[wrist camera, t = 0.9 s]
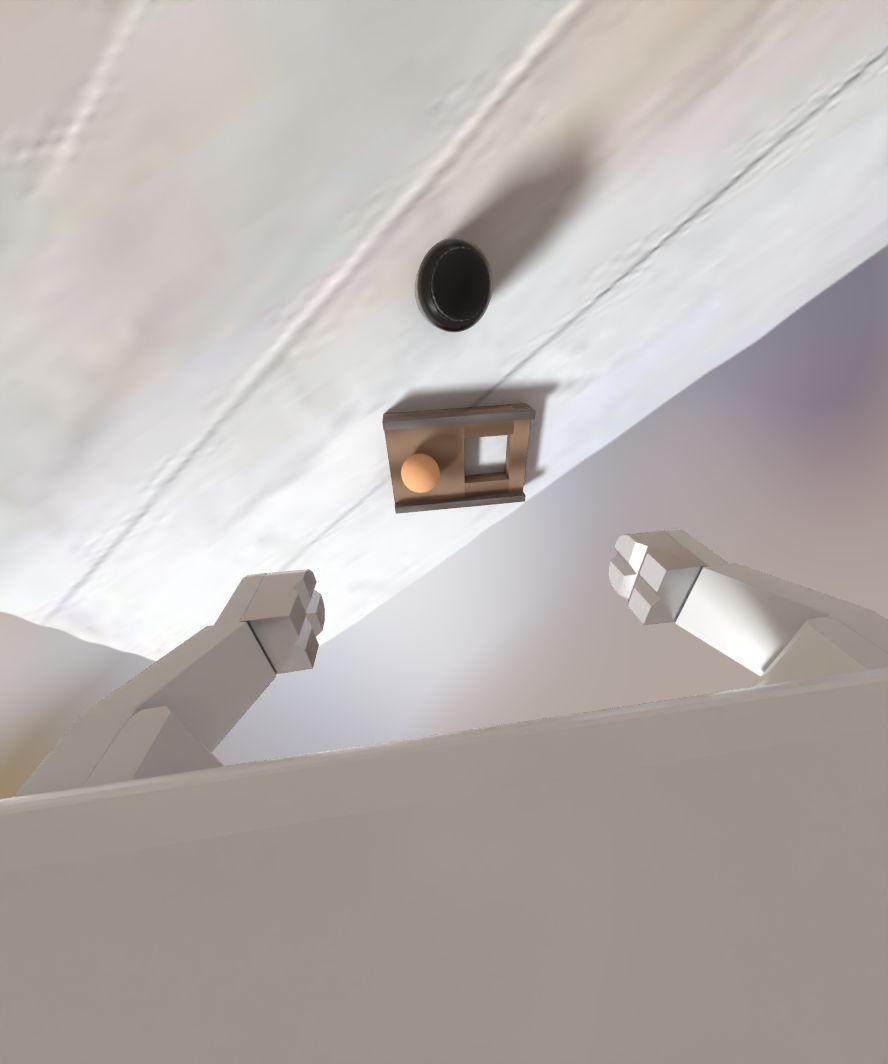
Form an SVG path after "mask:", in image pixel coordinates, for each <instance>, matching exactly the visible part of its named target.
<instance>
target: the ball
mask: <svg viewBox="0 0 888 1064" xmlns="http://www.w3.org/2000/svg"><path fill="white" fill-rule="evenodd" d="M401 476H402V480H403V482H404V484H405V485H406V486H407V487H408V488H409V489H410V490H412V491H414V492H418V493H424V492H427V491H430V490H431V489H433V488H434V487H435V486H436V484H437V483H438V480H439V476H440V471H439V467H438V464H437V463H436V461H435V460H434V459H433V458H432V457H430V456H429V455H426V454H414V455H412V456H410V457H409V458H407V459H406V461H405V462H404V464H403V466H402V469H401Z"/></svg>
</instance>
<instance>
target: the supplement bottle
mask: <svg viewBox="0 0 888 1064" xmlns="http://www.w3.org/2000/svg"><path fill="white" fill-rule="evenodd" d="M491 294H492V275H491V270H490V266H489V264H488V261H487V259H486V257H485V256H484V254H483V253H482V251H481V250H480V249H479V248H478V247H477V246H476V245H475V244H473V243H472V242H470V241H468V240H466V239H463V238H448V239H445V240H442V241H440V242H439V243H437V244H436V245H434V246H433V247H432V248H431V249H430V250H429V251H428V253H427V254H426V255H425V257H424V259H423V261H422V263H421V265H420V268H419V270H418V273H417V276H416V281H415V297H416V302H417V305H418V308H419V310H420V312H421V313H422V315H423V316H424V317H425V319H426V320H427V321H428V322H430V323H431V324H432V325H434V326H436V327H437V328H439V329H441V330H444V331H447V332H461V331H464V330H467V329H469V328H471V327H472V326H473V325H475V324H476V323H477V322H478V321H479V320H480V319H481V318H482V316H483V315H484V313H485V311H486V310H487V307H488V305H489V302H490V298H491Z"/></svg>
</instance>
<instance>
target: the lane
mask: <svg viewBox="0 0 888 1064" xmlns="http://www.w3.org/2000/svg"><path fill="white" fill-rule="evenodd" d="M531 419H535V410H534V409H532V408H531V407H530V406H529V405H527V404H512V405H498V406H484V407H470V408H457V409H443V410H429V411H415V412H401V413H387V414H383V429H384V431H385V437H386V444H387V451H388V458H389V465H390V472H391V479H392V486H393V493H394V499H395V511H396V514H397V513H407V512H418V511H428V510H439V509H449V508H460V507H470V506H481V505H492V504H502V503H513V502H523V501H525V494H524V493H523V486H524V477H525V468H526V459H527V450H528V441H529V432H530V423H531ZM499 435H508V437H507V450H506V464H505V472H502V473H490V474H479V475H467V476H464V438H474V437H486V436H499ZM414 454H426V455H429V456H430V457H432V458H433V459H434V460H435V461H436V463H437V464H438V467H439V471H440V476H439V480H438V483H437V484H436V486H435V487H434V488H433V489H431V490H430V491H427V492H424V493H418V492H414V491H412V490H410V489H409V488H408V487H407V486H406V485H405V484H404V482H403V480H402V476H401V469H402V466H403V464H404V462H405V461H406V459H407V458H409V457H410V456H412V455H414Z"/></svg>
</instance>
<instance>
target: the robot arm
mask: <svg viewBox="0 0 888 1064" xmlns="http://www.w3.org/2000/svg"><path fill="white" fill-rule="evenodd" d="M615 549H616V551H617V553H618V554H617V555H616V556H615V557H614V559H612V560H611V562H610V566H609V578H610V582H611V584H612V586H613V588H614V589H615V590H616V592H617V593H618V594H619V595H621V596H623V597H625V598H627V599H628V607H629V608H630V609H631V610H632V612H633V613H634V614H635V615H636V617H637V618H638V619H639V620H640V622H641V623H642V624H643V625H649V624H659V623H668V622H676V624H677V625H679V626H680V627H682V628H683V629H685V630H687V631H688V632H690V633H691V634H693V635H695V636H696V637H698V638H700V639H701V640H703V641H704V642H706V643H708V644H709V645H711V646H712V647H714V648H716V649H717V650H719V651H721V652H722V653H724V654H725V655H727V656H729V657H730V658H732V659H733V660H735V661H737V662H738V663H740V664H741V665H743V666H745V667H747V668H748V669H750V670H751V671H753V672H754V673H756V674H758V675H759V676H761V677H760V678H759V680H758V681H757V682H756V683H755V685H754V686H753V687H751V688H745V689H737V690H731V691H724V692H717V693H711V694H705V695H697V696H690V697H684V698H677V699H670V700H664V701H657V702H650V703H644V704H638V705H631V706H623V707H617V708H610V709H603V710H597V711H590V712H583V713H577V714H570V715H563V716H556V717H550V718H543V719H537V720H530V721H523V722H517V723H510V724H503V725H497V726H490V727H484V728H477V729H470V730H463V731H458V732H450V733H443V734H437V735H430V736H423V737H417V738H410V739H403V740H396V741H390V742H383V743H377V744H370V745H363V746H356V747H350V748H343V749H336V750H330V751H323V752H316V753H310V754H302V755H296V756H290V757H282V758H276V759H269V760H263V761H255V762H249V763H242V764H235V765H229V766H224V765H223V764H222V763H221V762H220V761H219V760H218V759H217V758H216V757H215V756H214V755H213V754H212V752H213V750H214V749H215V748H216V747H217V746H218V744H219V743H220V742H221V741H222V740H223V738H224V737H225V736H226V735H227V734H228V733H229V732H230V730H231V729H232V728H233V727H234V725H235V724H236V723H237V722H238V721H239V720H240V719H241V717H242V716H243V715H244V714H245V713H246V712H247V710H248V709H249V708H250V707H251V706H252V704H253V703H254V702H255V701H256V700H257V699H258V697H259V696H260V695H261V694H262V693H263V691H264V690H265V689H266V688H267V687H268V686H269V684H270V683H271V682H272V681H273V680H274V678H275V677H276V674H281V673H287V672H293V671H300V670H306V669H312V668H313V666H314V662H315V658H316V654H317V650H318V646H319V644H318V642H317V639H316V636H317V635H318V634H319V633H320V632H321V631H322V630H323V625H324V620H325V609H324V603H323V599H322V596H321V594H320V593H318V592H317V591H315V590H314V588H315V585H316V579H315V577H314V574H313V572H312V571H311V570H309V569H307V570H296V571H285V572H274V573H268V574H267V573H264V574H255V575H248V576H246V577H244V578H243V579H242V580H241V582H240V584H239V585H238V587H237V588H236V590H235V592H234V593H233V595H232V597H231V598H230V600H229V602H228V603H227V605H226V606H225V608H224V610H223V611H222V613H221V615H220V616H219V618H218V619H217V621H216V623H215V624H214V625H213V626H207V627H205V628H204V629H202V630H201V631H199V632H198V633H197V634H195V635H194V636H192V637H191V638H189V639H188V640H187V641H185V642H184V643H182V644H181V645H179V646H178V647H177V648H175V649H174V650H172V651H171V652H169V653H168V654H167V655H165V656H164V657H162V658H161V659H159V660H158V661H157V662H155V663H154V664H153V665H151V666H149V667H148V668H147V669H145V670H144V671H142V672H141V673H140V674H138V675H137V676H135V677H134V678H132V679H131V680H129V681H128V682H127V683H125V684H124V685H123V686H121V687H120V688H118V689H117V690H115V691H114V692H112V693H111V694H110V695H109V696H107V697H105V698H104V699H102V700H101V701H100V702H98V703H97V704H95V705H94V706H93V707H91V708H90V709H88V710H87V711H85V712H84V713H82V714H81V715H80V716H79V717H78V718H77V719H76V720H75V722H74V723H73V724H72V726H71V727H70V728H69V729H68V730H67V732H66V733H65V734H64V735H63V737H62V738H61V739H60V740H59V741H58V743H57V744H56V745H55V746H54V748H53V749H52V750H51V751H50V753H49V754H48V755H47V756H46V757H45V759H44V760H43V761H42V762H41V764H40V765H39V766H38V768H37V769H36V770H35V771H34V772H33V773H32V775H31V776H30V777H29V778H28V780H27V781H26V782H25V783H24V785H23V786H22V787H21V788H20V790H19V791H18V792H17V793H16V794H15V796H14V797H13V798H7V799H0V1064H888V619H886V618H884V617H883V616H881V615H880V614H878V613H876V612H875V611H873V610H871V609H868V608H865V607H862V606H859V605H856V604H854V603H851V602H848V601H845V600H842V599H839V598H836V597H833V596H830V595H827V594H824V593H821V592H818V591H815V590H812V589H810V588H807V587H804V586H801V585H798V584H795V583H792V582H789V581H786V580H783V579H780V578H777V577H774V576H771V575H769V574H766V573H763V572H760V571H757V570H754V569H751V568H748V567H745V566H742V565H739V564H736V563H732V564H729V563H728V562H726V561H725V560H723V559H722V558H721V557H719V556H718V555H717V554H715V553H714V552H713V551H711V550H710V549H708V548H707V547H706V546H704V545H703V544H702V543H700V542H699V541H697V540H696V539H695V538H693V537H692V536H691V535H689V534H688V533H686V532H685V531H684V530H681V529H678V528H672V529H664V530H658V531H655V532H645V533H636V534H628V535H621V536H620V537H619V539H618V540H617V542H616V545H615Z"/></svg>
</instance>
